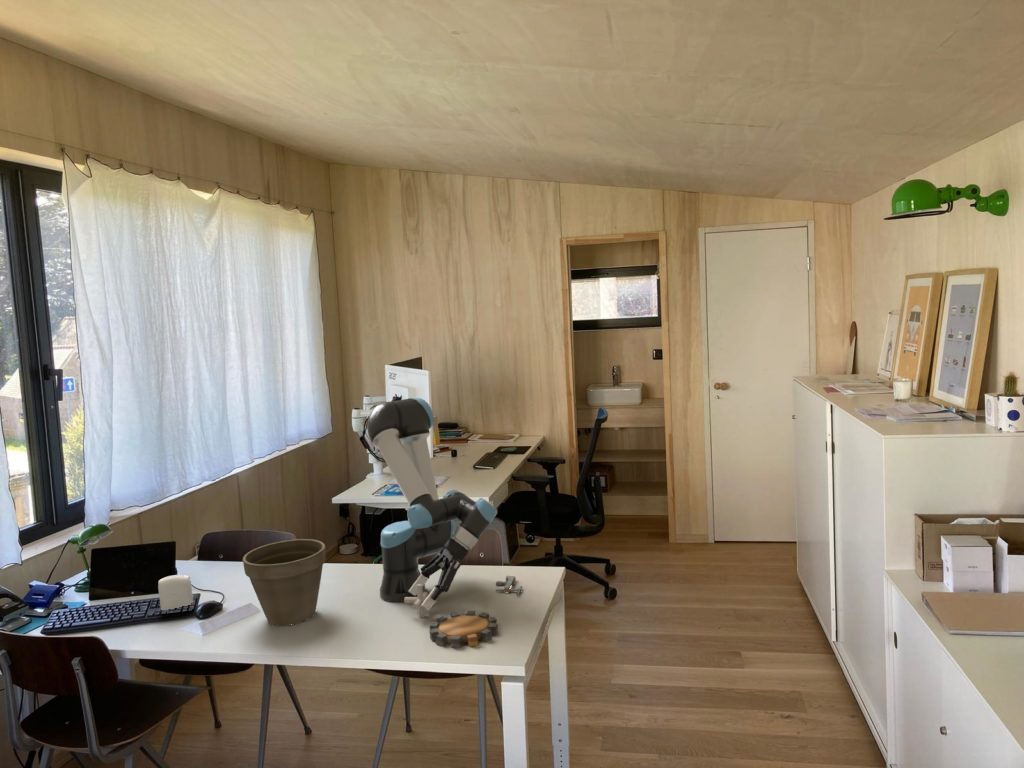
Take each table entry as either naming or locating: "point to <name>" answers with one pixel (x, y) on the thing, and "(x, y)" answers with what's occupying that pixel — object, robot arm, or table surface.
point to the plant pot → (286, 578)
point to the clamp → (509, 581)
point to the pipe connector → (418, 600)
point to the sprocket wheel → (463, 629)
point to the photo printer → (175, 592)
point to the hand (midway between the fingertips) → (418, 600)
